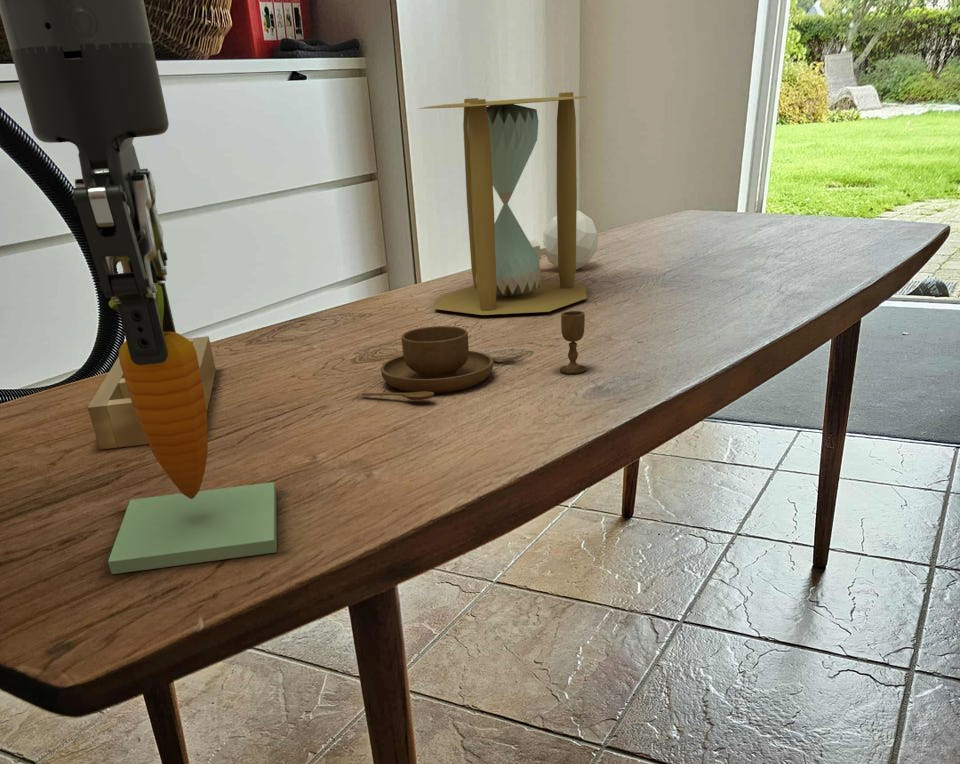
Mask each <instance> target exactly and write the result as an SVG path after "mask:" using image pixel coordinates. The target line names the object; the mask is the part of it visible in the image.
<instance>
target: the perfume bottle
mask: <svg viewBox="0 0 960 764" xmlns="http://www.w3.org/2000/svg"><path fill="white" fill-rule="evenodd" d="M529 242H530V244H531V246H532V247H533V249H534V251H535V253H536V255H537V257H538V258H539V261H540V260H542V256H543V257H544V256H546V258H547V261H548V263H550V264H551V265H553V266H554V267H556V268H558V236H557V215H555V216H554V217H551V219H550V220H549V223H548V224H547V226H546V228H545V229H544V231H543V235H542V241H539V239H537V238H536V239H531V240H529ZM598 243H599V233H598V231H597V228H596V225H595V223H594V221H593V219H592V218H590V216H588V215H586V214H585V213H583V212H582V211H581V210H577V214H576V271H577V270H579V269H581V268H582V267H584V266H586V265H587V264H588V263H589V262H590V261H591V259H592V258H593V257H594V255H595V254H596V253H597V251H598Z"/></svg>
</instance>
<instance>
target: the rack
mask: <svg viewBox="0 0 960 764" xmlns="http://www.w3.org/2000/svg"><path fill="white" fill-rule="evenodd" d="M185 338H186V337H185ZM186 339H188V340H189V341H190V342H192V344H193V346H194V348H195V350H196V353H197V358H198V363H199V368H200V374H201V379H202V384H203V391H204V397H205V403H206V410H207V411H208V410H209V409H208V408H209V405H210V401H211V396H212V391H213V386H214V382H215V381H214V380H215V377H216V372H217V369H216V363H215V359H214V355H213V351H212V350H213V349H212V345H211V341H210V336H208V335H207V336H199V337H198V336H197V337H187V338H186ZM87 410H88V414H89V418H90V420H91V424H92V428H93V431H94V435H95V438H96V442H97V445H98V448H99V450H101V451H102V450H111V449H117V448H119V449H120V448H128V447H136V446H145V445H149V444H148V442H147V439H146V437H145V435H144V433H143V431H142V428H141V426H140V424H139V421H138V419H137V417H136V414H135V411H134V407H133V404H132V401H131V398H130V395H129V392H128V389H127V385H126V382H125V378H124V375H123V372H122V368H121V365H120V361H119V356H117V358H116V360H115V362H114V363H113V364H112V366H111V368H110V370H109V372H108V373H107V374H106V376H105V377H104V380H103V381H102V383H101V385H100V386H99V388H98V389H97V391H96V392H95V394H94V396H93V398H92V400H91V401H90V403H89V404H88V406H87Z"/></svg>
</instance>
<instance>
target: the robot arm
mask: <svg viewBox="0 0 960 764" xmlns="http://www.w3.org/2000/svg"><path fill="white" fill-rule="evenodd" d="M0 17H1V21H2V25H3V28H4V32H5V35H6V39H7V42H8V46H9V50H10V53H11V58H12V61H13V64H14V68H15V72H16V76H17V80H18V82H19V83H18V84H19V86H20V90H21V93H22V97H23V100H24V104H25V108H26V111H27V115H28V118H29V123H30V126H31V129H32V133H33V135H34V136H35V137H36V139H38V140H39V141H40V142H43V143H48V144H52V143H55V144H56V143H71V144H73V145H74V146H75V147H77V151H78V155H77V156H78V159H79V165H80V169H81V170H80V171H81V172H80V173H81V177H82V178H75V179H74V185H75V187H73V189H72V201H73V205H74V206H75V207H76V209H77V212H78V215H79V219H80V221H81V225H82V228H83V231H84V235H85V239H86V241H87V245H88V247H89V251H90V253H91V257H92V261H93V264H94V266H95V271H96V273H97V277H98V280H99V287H100V290H101V292H102V293H103V295H104V297H105V299H106V298H107V299H108V298H110V300H112V301H113V303H117V307H118V310H119V311H118V315H119V318H120V322H121V327H122V330H123V334H124V339H125V341H126V342H127V346H128V350H129V354H130V358H131V360H132V361H133V362H134V363H135V364H137V365H146V364H156V363H163V362H164V361H165V360H166V359H167V356H168V350H167V346H166V341H165V337H164V333H163V332H175V333H177V330H176V327H175V326H176V325H175V322H174V317H173V313H172V307H171V305H170V300H169V295H168V291H167V287H166V281H167V276H168V270H167V265H168V264H167V263H168V262H167V261H168V254H167V252H166V251H165V247H164V246H165V245H164V232H163V228H162V224H161V220H160V217H159V213H158V209H157V204H156V197H157V190H156V186H155V182H154V179H153V175H152V172H151V170H149V168H141V166H140V162H139V160H138V156H137V153H136V149H135V148H136V147H135V146H134V144H133V141H134V139H135V138H145V137H153V136H159V135H160V136H161V135H163V134H165V133H166V132H167V131H168V129H169V126H170V124H169V118H168V113H167V108H166V103H165V98H164V94H163V89H162V84H161V78H160V73H159V69H158V63H157V60H156V54H155V49H154V45H153V40H152V35H151V31H150V25H149V20H148V15H147V10H146V6H145V1H144V0H0ZM119 263H120V265H121V267H122V272H121V273H119V272H118V267H117V266H118V264H119ZM153 283H157V284H158V285H160V286H161V287H162V291H163V298H164V315H163V328H162V324H161V320H160V316H159V311H158V307H157V303H156V299H155V293H156V286H155V284H153Z"/></svg>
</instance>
